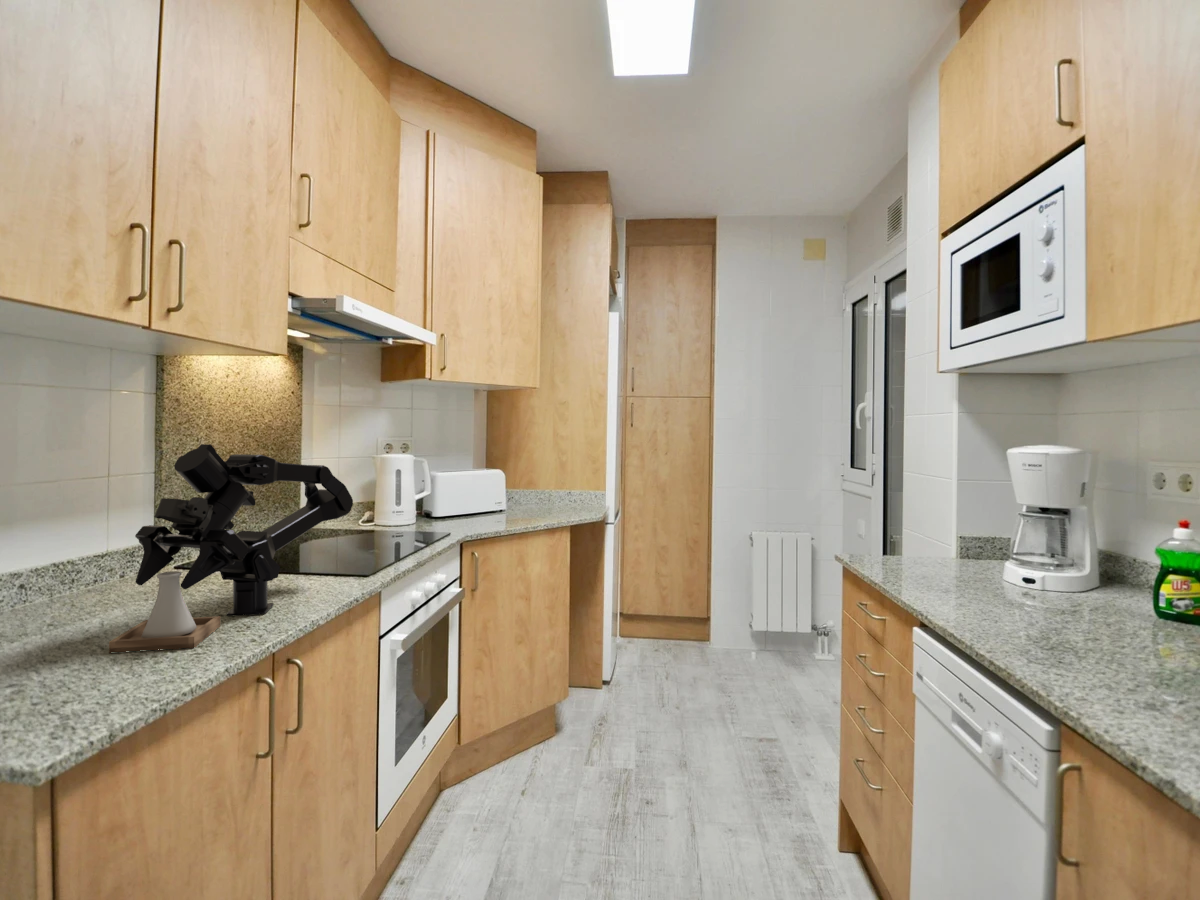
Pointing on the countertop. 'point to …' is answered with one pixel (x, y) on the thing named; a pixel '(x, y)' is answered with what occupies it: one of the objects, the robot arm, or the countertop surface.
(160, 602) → the flask
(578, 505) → the countertop surface
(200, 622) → the walnut tray
